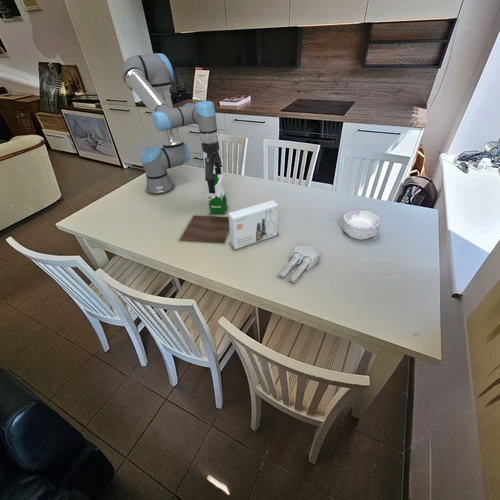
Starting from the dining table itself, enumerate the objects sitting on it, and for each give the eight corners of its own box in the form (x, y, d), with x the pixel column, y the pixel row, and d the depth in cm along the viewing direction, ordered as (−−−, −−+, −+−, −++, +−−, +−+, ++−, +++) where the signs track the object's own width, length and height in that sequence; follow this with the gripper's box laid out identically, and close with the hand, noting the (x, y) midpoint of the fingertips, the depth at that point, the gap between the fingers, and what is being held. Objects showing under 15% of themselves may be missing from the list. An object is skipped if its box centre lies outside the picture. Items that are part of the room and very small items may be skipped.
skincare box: (235, 250, 117) (232, 218, 107) (230, 243, 121) (226, 212, 111) (278, 235, 124) (279, 204, 114) (271, 229, 128) (272, 198, 118)
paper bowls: (351, 220, 131) (354, 205, 126) (382, 232, 122) (387, 217, 117) (333, 234, 123) (336, 219, 118) (365, 248, 114) (370, 233, 109)
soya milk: (208, 214, 140) (202, 177, 128) (212, 205, 147) (206, 169, 135) (225, 215, 139) (221, 177, 127) (228, 205, 146) (224, 169, 134)
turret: (275, 278, 107) (274, 270, 103) (302, 245, 116) (302, 237, 113) (297, 289, 101) (297, 281, 98) (324, 255, 111) (325, 246, 108)
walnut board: (194, 216, 140) (194, 215, 139) (233, 218, 137) (233, 217, 136) (180, 240, 124) (180, 239, 124) (223, 243, 121) (223, 242, 121)
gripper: (210, 151, 111) (217, 199, 125) (224, 132, 130) (229, 175, 144) (192, 151, 112) (201, 198, 126) (209, 133, 132) (214, 175, 145)
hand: (215, 186), depth 135 cm, fingers open, 13 cm apart
